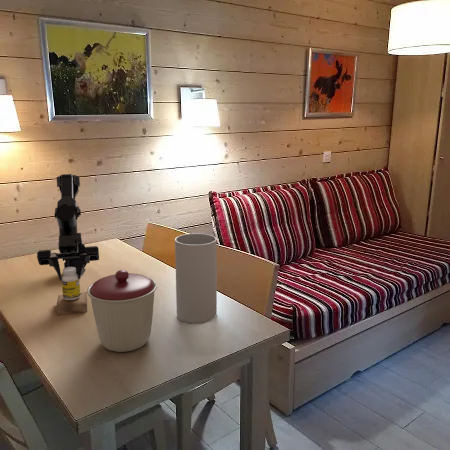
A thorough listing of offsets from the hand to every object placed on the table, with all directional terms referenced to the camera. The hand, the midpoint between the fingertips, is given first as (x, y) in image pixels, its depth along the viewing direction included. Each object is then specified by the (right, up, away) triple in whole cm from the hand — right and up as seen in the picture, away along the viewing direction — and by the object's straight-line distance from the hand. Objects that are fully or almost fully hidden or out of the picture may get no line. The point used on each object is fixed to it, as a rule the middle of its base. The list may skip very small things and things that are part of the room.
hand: (69, 279), depth 135 cm
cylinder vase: (+40, -11, -1) cm, 42 cm away
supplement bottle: (0, -6, +3) cm, 7 cm away
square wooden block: (0, -10, +4) cm, 10 cm away
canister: (+22, -15, -17) cm, 32 cm away
